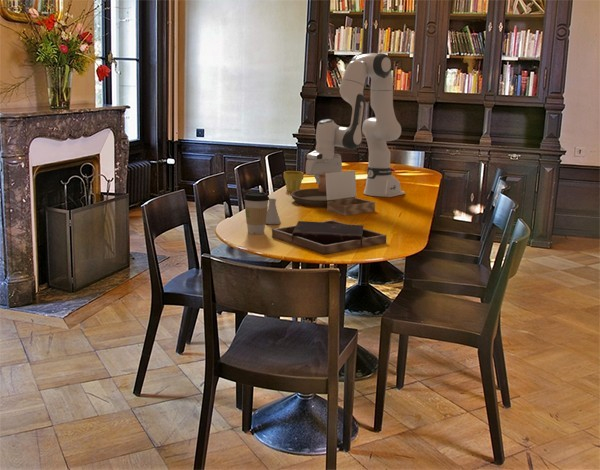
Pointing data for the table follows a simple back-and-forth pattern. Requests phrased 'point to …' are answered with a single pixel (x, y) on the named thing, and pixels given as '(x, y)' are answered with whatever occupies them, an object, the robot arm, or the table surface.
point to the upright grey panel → (340, 185)
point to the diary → (328, 232)
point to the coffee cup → (256, 211)
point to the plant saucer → (312, 197)
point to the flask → (272, 213)
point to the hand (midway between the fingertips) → (323, 183)
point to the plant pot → (293, 180)
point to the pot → (322, 183)
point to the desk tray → (367, 240)
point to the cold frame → (350, 206)
